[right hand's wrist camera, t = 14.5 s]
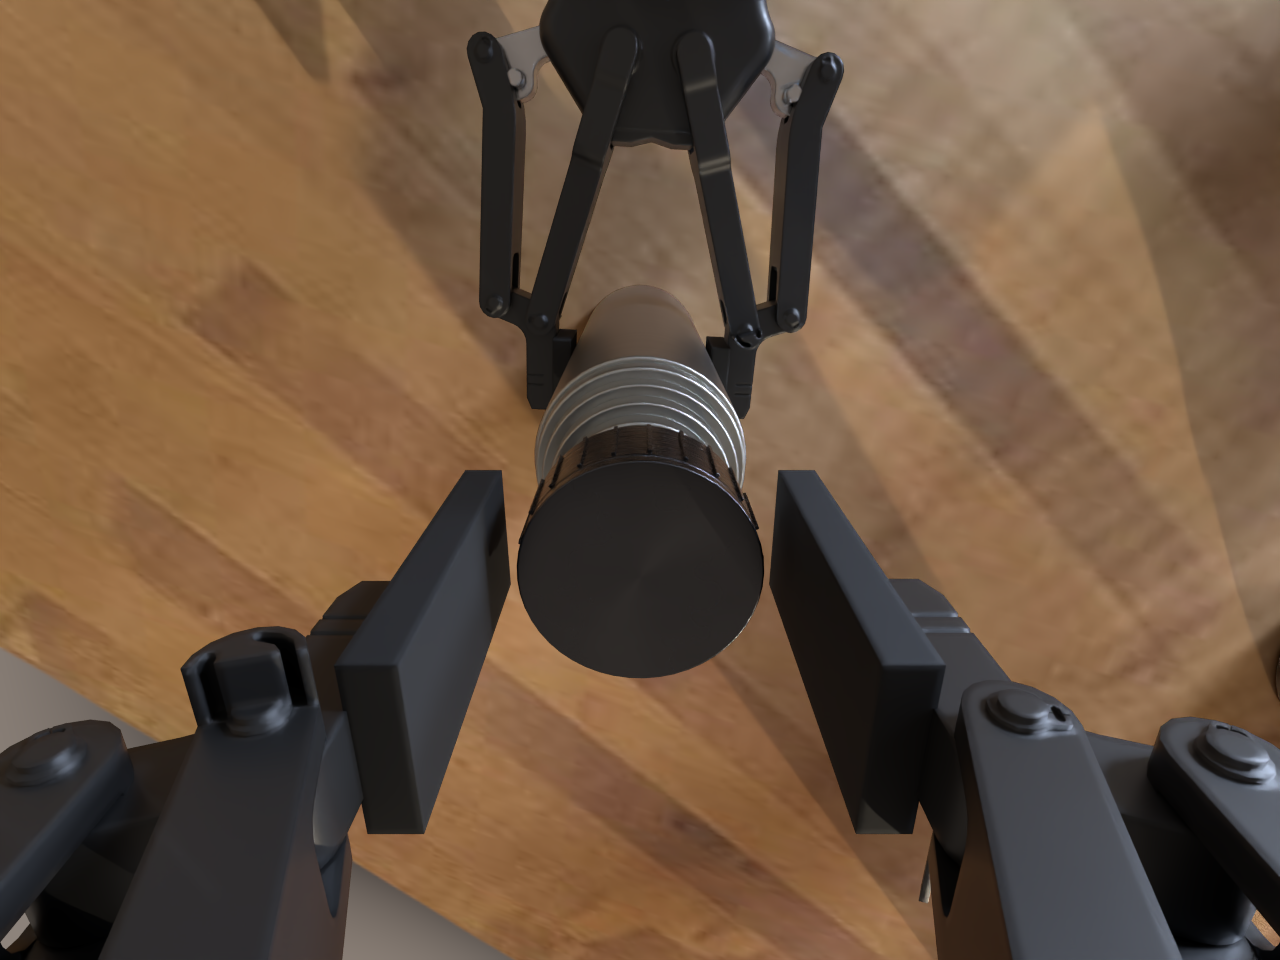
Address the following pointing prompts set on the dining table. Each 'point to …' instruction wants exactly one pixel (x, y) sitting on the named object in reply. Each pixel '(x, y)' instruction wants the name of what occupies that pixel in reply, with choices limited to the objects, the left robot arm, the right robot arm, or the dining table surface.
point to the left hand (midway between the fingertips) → (634, 479)
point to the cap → (640, 553)
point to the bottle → (640, 381)
